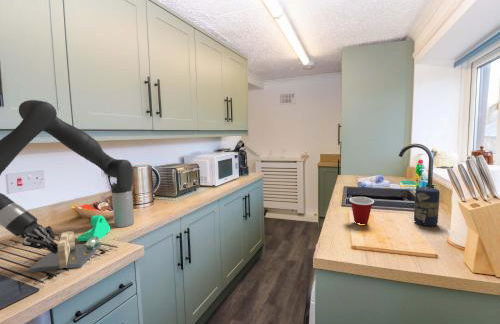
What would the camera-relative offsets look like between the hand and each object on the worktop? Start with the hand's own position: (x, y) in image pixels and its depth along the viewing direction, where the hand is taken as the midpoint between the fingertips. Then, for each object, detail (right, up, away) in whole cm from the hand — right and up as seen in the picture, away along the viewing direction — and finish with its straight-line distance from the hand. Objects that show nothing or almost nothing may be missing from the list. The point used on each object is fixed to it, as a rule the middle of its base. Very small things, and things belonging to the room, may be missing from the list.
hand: (58, 251), depth 94 cm
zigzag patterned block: (0, -3, +3) cm, 4 cm away
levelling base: (-1, -5, +6) cm, 8 cm away
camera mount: (-2, -3, +26) cm, 26 cm away
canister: (+151, +2, +33) cm, 154 cm away
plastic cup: (+121, +1, +35) cm, 126 cm away
